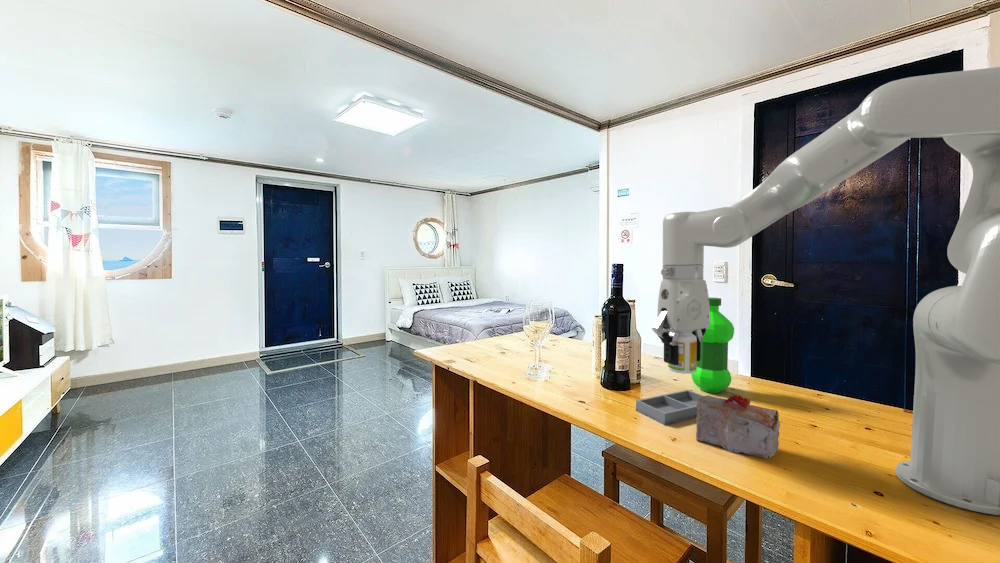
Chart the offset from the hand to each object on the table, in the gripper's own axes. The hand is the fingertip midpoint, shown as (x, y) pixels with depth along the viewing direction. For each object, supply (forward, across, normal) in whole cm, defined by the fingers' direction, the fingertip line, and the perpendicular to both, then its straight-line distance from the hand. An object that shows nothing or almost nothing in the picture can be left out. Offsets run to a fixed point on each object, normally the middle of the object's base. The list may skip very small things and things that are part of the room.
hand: (682, 360), depth 79 cm
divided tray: (+15, +8, +8) cm, 19 cm away
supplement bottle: (+2, 0, 0) cm, 2 cm away
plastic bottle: (+15, +28, +15) cm, 35 cm away
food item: (+16, +4, -9) cm, 18 cm away
